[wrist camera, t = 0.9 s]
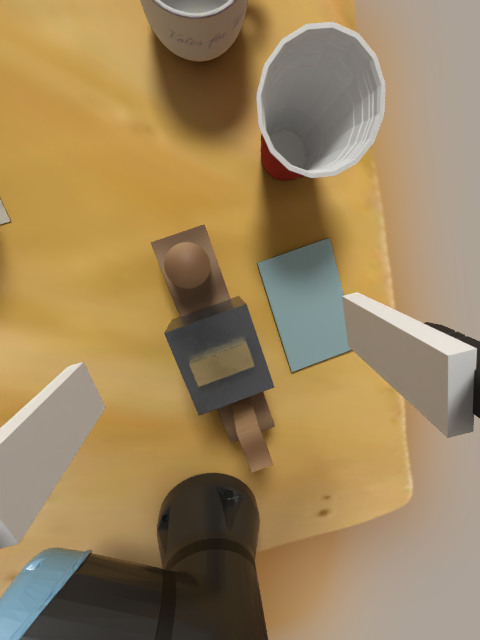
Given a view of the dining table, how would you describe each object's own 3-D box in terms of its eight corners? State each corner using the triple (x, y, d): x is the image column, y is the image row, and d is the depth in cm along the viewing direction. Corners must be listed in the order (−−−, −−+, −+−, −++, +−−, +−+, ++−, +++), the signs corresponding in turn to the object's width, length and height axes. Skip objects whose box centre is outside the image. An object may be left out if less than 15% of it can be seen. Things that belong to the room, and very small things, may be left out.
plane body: (266, 406, 40) (288, 458, 30) (227, 421, 40) (236, 479, 29) (204, 229, 34) (204, 215, 24) (158, 245, 34) (137, 237, 23)
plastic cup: (223, 176, 33) (233, 129, 22) (265, 87, 32) (299, -14, 20) (299, 220, 36) (345, 200, 24) (341, 139, 34) (411, 75, 22)
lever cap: (262, 365, 34) (276, 391, 27) (200, 388, 33) (198, 421, 26) (238, 296, 31) (247, 305, 25) (171, 319, 31) (162, 336, 24)
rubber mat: (354, 346, 40) (356, 347, 40) (290, 370, 40) (291, 372, 39) (327, 238, 36) (329, 237, 36) (256, 263, 36) (257, 263, 35)
